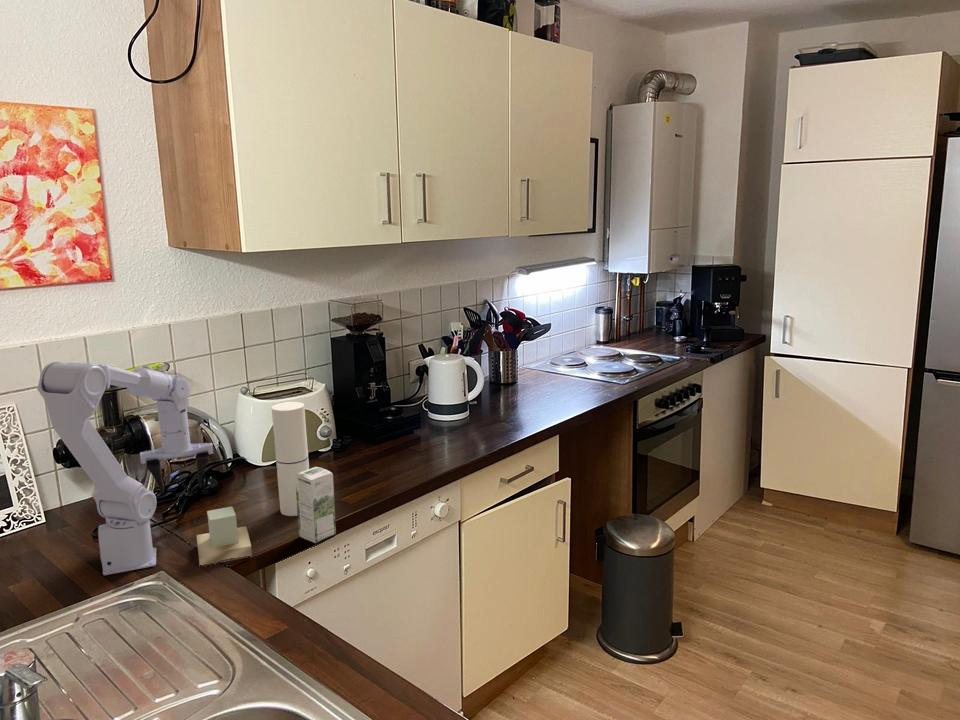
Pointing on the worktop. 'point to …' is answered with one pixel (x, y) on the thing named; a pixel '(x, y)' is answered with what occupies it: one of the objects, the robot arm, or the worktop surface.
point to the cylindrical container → (289, 451)
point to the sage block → (222, 527)
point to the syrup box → (315, 504)
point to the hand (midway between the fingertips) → (181, 488)
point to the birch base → (223, 548)
